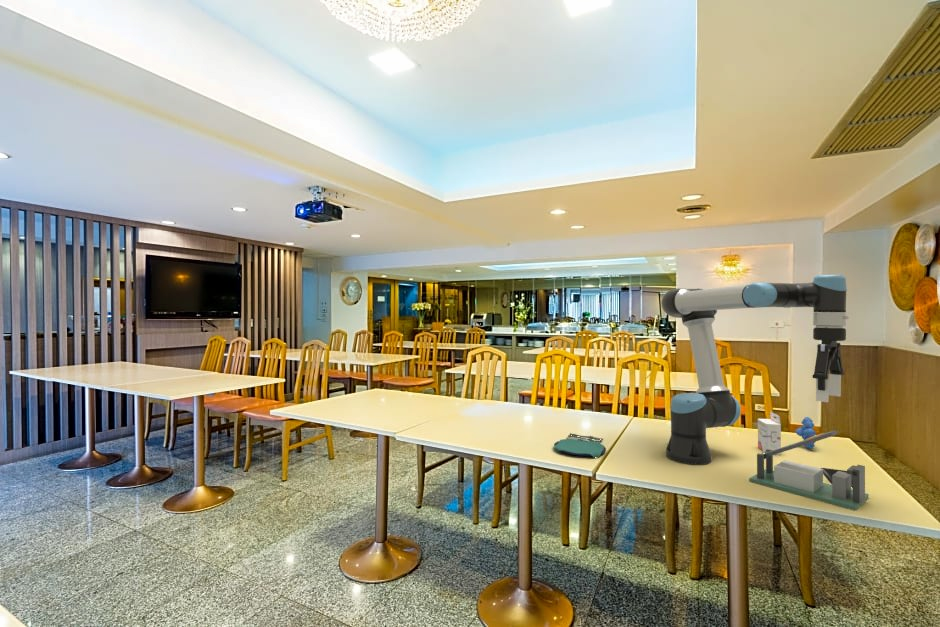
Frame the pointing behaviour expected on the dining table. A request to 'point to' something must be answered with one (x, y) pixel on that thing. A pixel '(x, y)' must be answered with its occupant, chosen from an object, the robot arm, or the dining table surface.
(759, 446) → the ink cartridge box
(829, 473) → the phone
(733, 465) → the dining table surface
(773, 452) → the clamp bar
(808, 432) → the grapes
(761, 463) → the clamp fixture base
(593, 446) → the teal clutch purse
